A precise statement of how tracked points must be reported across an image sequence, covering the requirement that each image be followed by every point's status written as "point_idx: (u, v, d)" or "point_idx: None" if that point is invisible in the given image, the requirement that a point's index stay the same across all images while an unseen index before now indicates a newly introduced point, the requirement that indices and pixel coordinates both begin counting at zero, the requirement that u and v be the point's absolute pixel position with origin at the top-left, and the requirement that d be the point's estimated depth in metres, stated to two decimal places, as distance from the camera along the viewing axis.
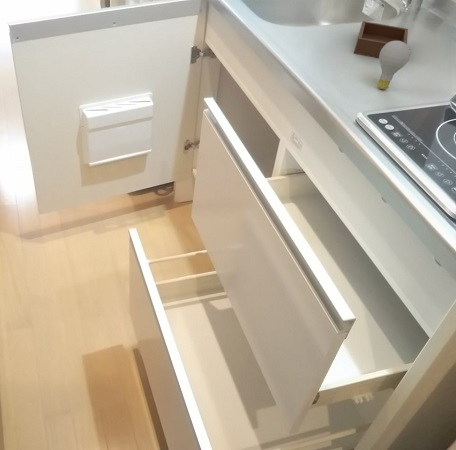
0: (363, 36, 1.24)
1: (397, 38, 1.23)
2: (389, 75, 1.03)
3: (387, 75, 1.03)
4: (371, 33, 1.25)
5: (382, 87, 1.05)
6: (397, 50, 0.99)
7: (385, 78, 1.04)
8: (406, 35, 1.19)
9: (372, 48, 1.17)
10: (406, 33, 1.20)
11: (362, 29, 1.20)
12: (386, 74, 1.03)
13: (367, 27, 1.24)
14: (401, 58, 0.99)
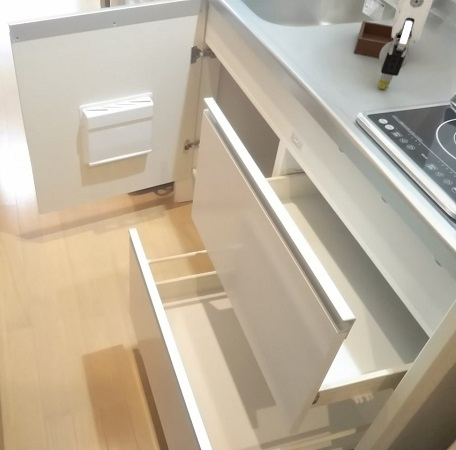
0: (363, 36, 1.24)
1: None
2: (389, 75, 1.03)
3: (387, 75, 1.03)
4: (371, 33, 1.25)
5: (382, 87, 1.05)
6: None
7: (385, 78, 1.04)
8: None
9: (372, 48, 1.17)
10: None
11: (362, 29, 1.20)
12: (386, 74, 1.03)
13: (367, 27, 1.24)
14: None
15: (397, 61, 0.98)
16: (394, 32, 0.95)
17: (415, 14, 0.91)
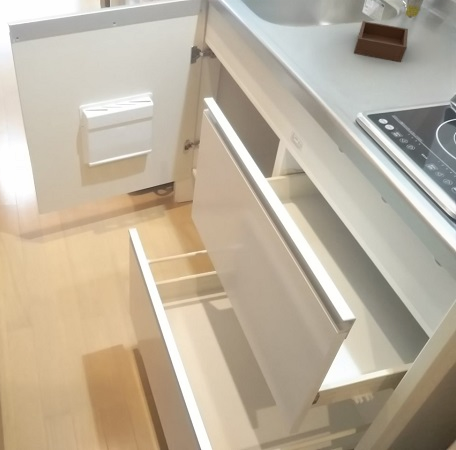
0: (363, 36, 1.24)
1: (397, 38, 1.23)
2: None
3: None
4: (371, 33, 1.25)
5: (411, 14, 0.96)
6: None
7: (414, 3, 0.95)
8: (406, 35, 1.19)
9: (372, 48, 1.17)
10: (406, 33, 1.20)
11: (362, 29, 1.20)
12: None
13: (367, 27, 1.24)
14: None
15: None
16: None
17: None
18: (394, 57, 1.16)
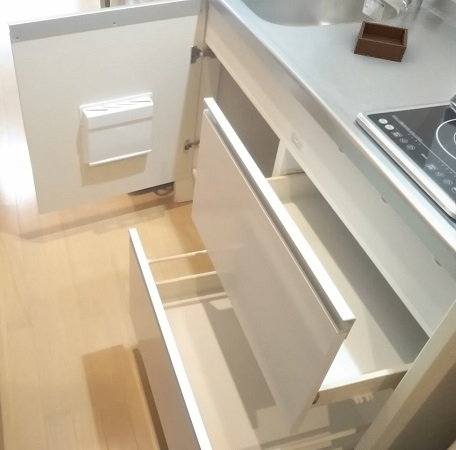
0: (363, 36, 1.24)
1: (397, 38, 1.23)
2: None
3: None
4: (371, 33, 1.25)
5: None
6: None
7: None
8: (406, 35, 1.19)
9: (372, 48, 1.17)
10: (406, 33, 1.20)
11: (362, 29, 1.20)
12: None
13: (367, 27, 1.24)
14: None
15: None
16: None
17: None
18: (394, 57, 1.16)
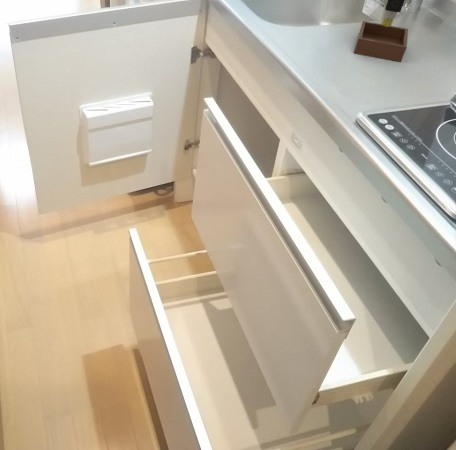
0: (363, 36, 1.24)
1: (397, 38, 1.23)
2: (392, 13, 1.15)
3: (390, 13, 1.15)
4: (371, 33, 1.25)
5: (386, 25, 1.17)
6: None
7: (388, 16, 1.16)
8: (406, 35, 1.19)
9: (372, 48, 1.17)
10: (406, 33, 1.20)
11: (362, 29, 1.20)
12: (389, 12, 1.15)
13: (367, 27, 1.24)
14: None
15: None
16: None
17: None
18: (394, 57, 1.16)
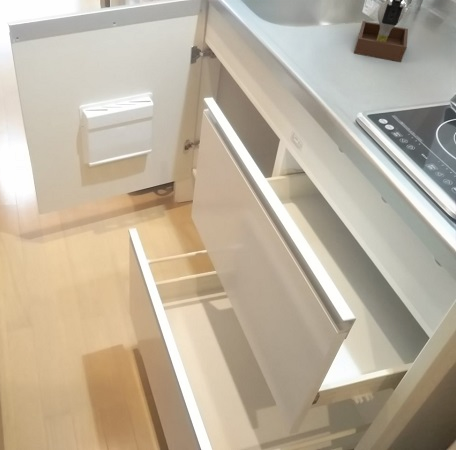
0: (363, 36, 1.24)
1: (397, 38, 1.23)
2: (386, 30, 1.18)
3: (385, 30, 1.18)
4: (371, 33, 1.25)
5: None
6: None
7: (383, 33, 1.18)
8: (406, 35, 1.19)
9: (372, 48, 1.17)
10: (406, 33, 1.20)
11: (362, 29, 1.20)
12: (384, 30, 1.18)
13: (367, 27, 1.24)
14: None
15: (396, 11, 1.10)
16: None
17: None
18: (394, 57, 1.16)
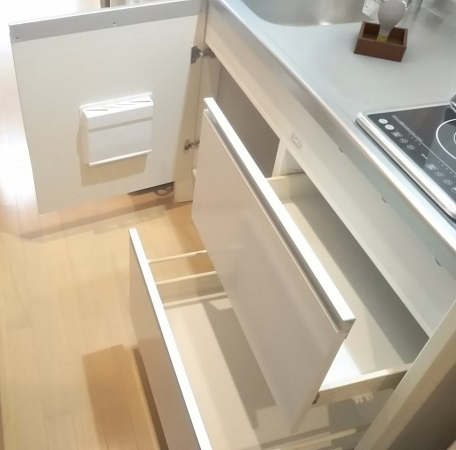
0: (363, 36, 1.24)
1: (397, 38, 1.23)
2: (386, 30, 1.18)
3: (385, 30, 1.18)
4: (371, 33, 1.25)
5: None
6: (394, 7, 1.13)
7: (383, 33, 1.18)
8: (406, 35, 1.19)
9: (372, 48, 1.17)
10: (406, 33, 1.20)
11: (362, 29, 1.20)
12: (384, 29, 1.18)
13: (367, 27, 1.24)
14: (397, 14, 1.14)
15: None
16: None
17: None
18: (394, 57, 1.16)
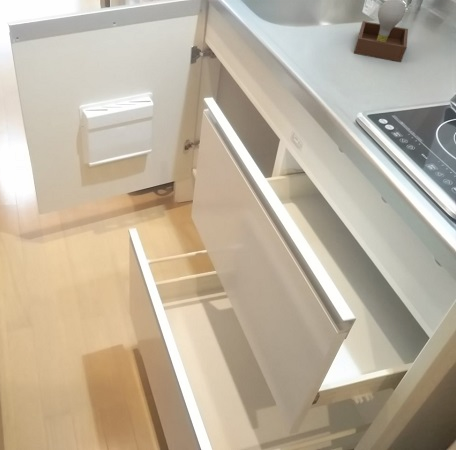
0: (363, 36, 1.24)
1: (397, 38, 1.23)
2: (386, 30, 1.18)
3: (385, 30, 1.18)
4: (371, 33, 1.25)
5: None
6: (394, 7, 1.13)
7: (383, 33, 1.18)
8: (406, 35, 1.19)
9: (372, 48, 1.17)
10: (406, 33, 1.20)
11: (362, 29, 1.20)
12: (384, 30, 1.18)
13: (367, 27, 1.24)
14: (397, 14, 1.14)
15: None
16: None
17: None
18: (394, 57, 1.16)
